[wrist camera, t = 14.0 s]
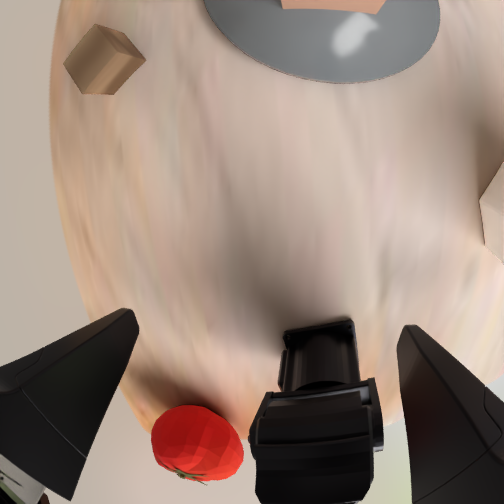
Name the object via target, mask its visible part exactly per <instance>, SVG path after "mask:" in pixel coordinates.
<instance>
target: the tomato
mask: <svg viewBox="0 0 504 504" xmlns="http://www.w3.org/2000/svg"><path fill="white" fill-rule="evenodd" d="M151 443H152V448H153V453H154V456H155V459H156V461H157V463H158V464H159V465H160V466H162V467H164V468H165V469H167V470H169V471H172V472H175V473H178V474H177V475H178V476H180V478H183V479H185V478H186V479H189V480H193V481H198V482H201V481H210V480H222V479H226V478H228V477H230V476H231V475H233V474H235V473H236V471H237V470H238V468H239V467H240V465H241V463H242V462H243V456H244V451H243V447H242V444H241V441H240V439H239V436H238V434H237V432H236V431H235V429H234V428H233V427H232V426H231V425H230V424H229V423H228V422H227V421H226V419H224V418H222V417H220V416H219V415H217V414H215V413H213V412H212V411H210V410H208V409H207V408H205V407H201V406H195V405H181V406H178V407H174V408H171V409H169V410H167V411H165V412H164V413H163V414H162V415H161V416H160V417H159V418H158V419H157V420H156V422H155V424H154V426H153V429H152V433H151ZM201 483H202V482H201ZM203 484H204V483H203Z"/></svg>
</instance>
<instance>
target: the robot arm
mask: <svg viewBox="0 0 504 504" xmlns="http://www.w3.org/2000/svg"><path fill="white" fill-rule="evenodd" d="M348 325H351V326H348ZM138 335H139V325H138V322H137V320H136V317H135V314H134V312H133V310H131V309H127V308H121V309H119V310H117V311H115V312H113V313H111V314H109V315H107V316H105V317H103V318H101V319H99V320H97V321H95V322H93V323H91V324H89V325H87V326H85V327H83V328H81V329H79V330H77V331H75V332H73V333H71V334H69V335H67V336H65V337H63V338H61V339H59V340H57V341H55V342H53V343H51V344H49V345H47V346H45V348H44V347H43V348H41V349H39V350H37V351H35V352H33V353H31V354H29V355H27V356H24V357H22V358H20V359H18V360H15V361H13V362H11V363H8V364H6V365H3V366H1V367H0V504H50V503H49V500H48V496H47V495H46V494H45V493H44V490H45V488H46V487H47V488H48V489H50V490H51V491H53V492H55V493H57V494H58V495H60V496H61V497H63V498H65V499H67V500H69V501H71V499H72V497H73V494H74V491H75V489H76V486H77V483H78V480H79V478H80V475H81V472H82V470H83V467H84V464H85V462H86V458H87V456H88V454H89V451H90V449H91V446H92V444H93V441H94V439H95V436H96V434H97V432H98V429H99V427H100V425H101V422H102V420H103V418H104V415H105V413H106V411H107V408H108V406H109V404H110V402H111V400H112V397H113V395H114V393H115V391H116V389H117V386H118V384H119V382H120V380H121V378H122V376H123V374H124V372H125V369H126V367H127V365H128V362H129V359H130V356H131V354H132V351H133V348H134V345H135V343H136V340H137V337H138ZM288 336H290V337H288ZM283 340H284V343H285V346H286V349H287V350H284V351H283V352H282V355H281V363H280V370H279V377H278V386H279V388H280V390H281V392H266V394H265V396H264V399H263V400H262V402H261V405H260V407H259V409H258V412H257V414H256V416H255V418H254V420H253V423H252V425H251V427H250V430H249V434H250V435H249V436H248V442H249V443H250V448H251V453H252V456H253V458H254V459H255V460H256V485H255V493H256V495H257V497H258V499H259V501H260V503H261V504H357V503H358V502H359V501H361V500H363V498H364V497H365V495H366V493H367V492H368V490H369V488H370V484H371V483H372V481H373V478H374V458H373V452H378V451H383V445H384V433H383V419H382V412H381V406H380V401H379V396H378V392H377V387H376V383H375V378H374V377H373V378H368V380H364V381H361V379H360V371H359V361H358V351H357V342H356V333H355V326H354V322H353V321H352V320H346V321H341V322H336V323H330V324H325V325H319V326H313V327H308V328H301V329H295V330H289V331H285V332H284V333H283ZM397 359H398V369H399V382H400V393H401V399H402V405H403V411H404V418H405V425H406V432H407V440H408V449H409V459H410V472H411V488H412V503H413V504H504V402H503V401H501V400H500V399H499V398H498V397H497V396H496V395H495V394H494V393H493V392H492V391H491V390H490V389H488V387H485V385H484V384H483V383H482V382H481V381H480V380H479V379H478V378H477V377H476V376H475V375H473V374H472V373H471V372H470V371H469V370H468V369H467V368H466V367H465V366H464V365H462V364H461V363H460V362H459V361H458V360H457V359H456V358H455V357H453V356H452V355H451V354H450V353H449V352H448V351H447V350H446V349H444V348H443V347H442V346H441V345H440V344H439V343H437V342H436V341H435V340H434V339H433V338H432V337H430V336H429V335H428V334H427V333H426V332H425V331H423V330H422V329H421V328H420V327H419V326H417V325H405V326H404V327H403V329H402V332H401V335H400V338H399V341H398V344H397Z"/></svg>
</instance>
